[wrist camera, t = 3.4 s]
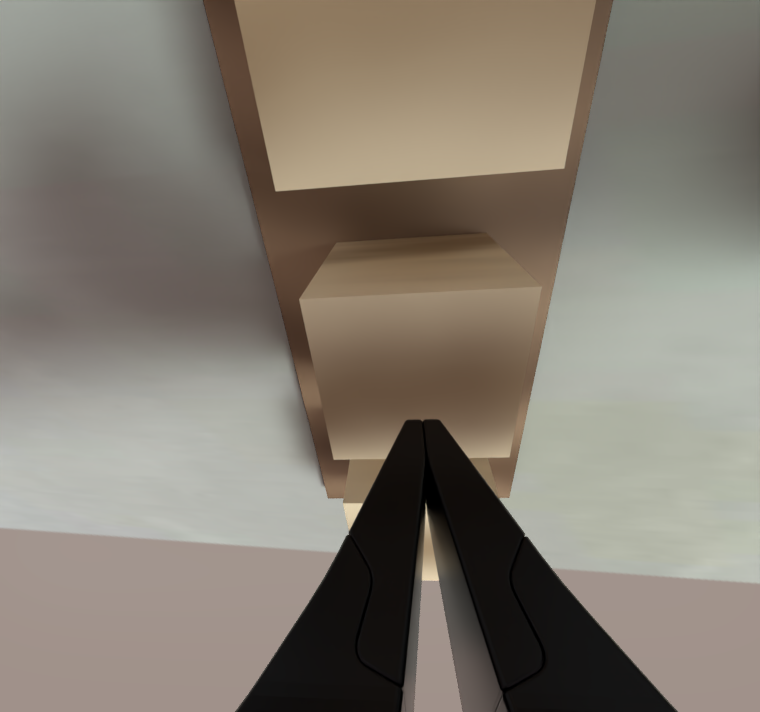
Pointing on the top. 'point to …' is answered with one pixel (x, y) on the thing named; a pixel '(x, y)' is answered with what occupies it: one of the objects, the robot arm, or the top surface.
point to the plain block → (420, 341)
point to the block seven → (413, 86)
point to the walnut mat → (399, 222)
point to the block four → (361, 483)
